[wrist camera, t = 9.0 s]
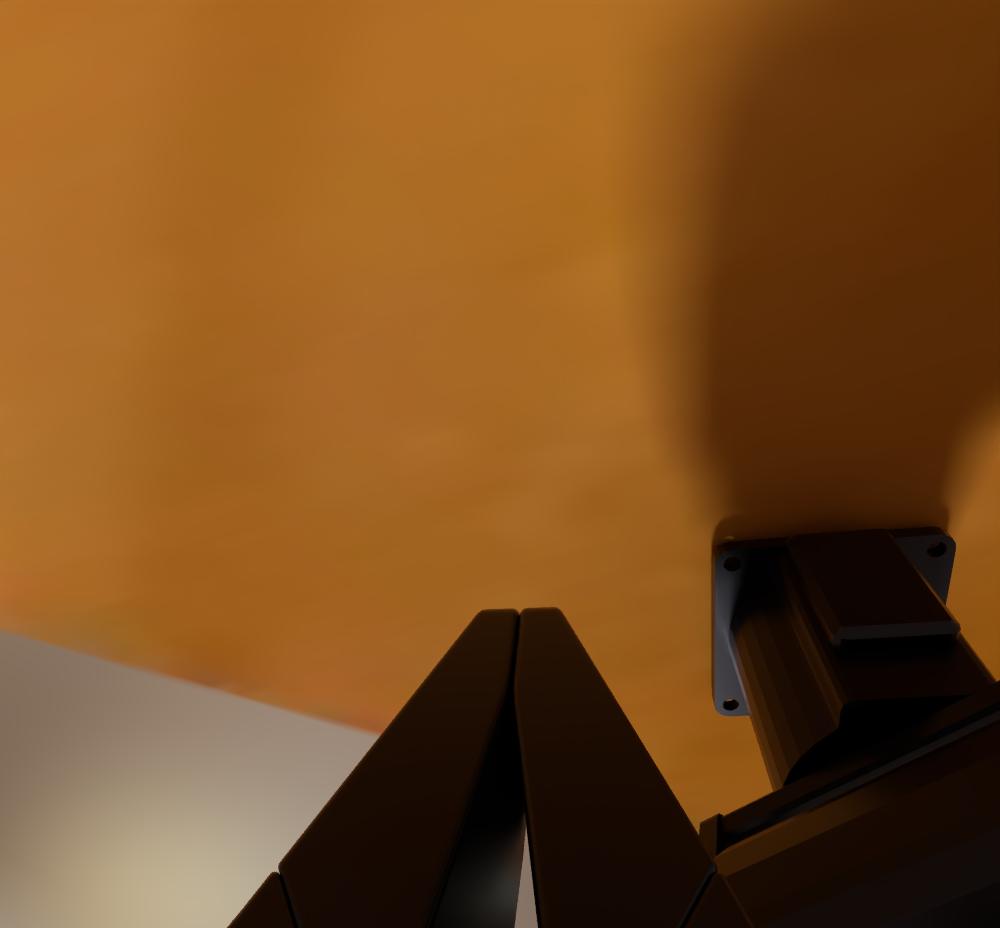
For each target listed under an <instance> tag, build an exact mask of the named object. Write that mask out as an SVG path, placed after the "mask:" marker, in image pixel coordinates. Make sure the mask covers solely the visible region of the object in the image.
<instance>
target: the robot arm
mask: <svg viewBox="0 0 1000 928" xmlns="http://www.w3.org/2000/svg"><path fill="white" fill-rule="evenodd" d="M936 542H939V544H938V545H937V546H936V547H935V548H932V549H928V547H929V546H930V545H931V544H933V543H936ZM955 551H956V543H955V541H954V540H953V539H952V537H951V536H950V535H949V534H948V533H947V532H946V531H945V530H944V529H942V528H940V527H923V528H910V529H896V530H884V529H872V530H858V531H845V532H831V533H818V534H805V535H795V536H793V537H788V538H775V539H761V540H748V541H734V542H727V543H723V544H721V545H720V546H718V547H717V548H716V549H715V550H714V552H713V556H712V697H713V701H714V705H715V708H716V710H717V711H718V712H719V713H720V714H722V715H724V716H746V715H750V718H751V721H752V725H753V728H754V731H755V734H756V737H757V741H758V744H759V747H760V750H761V753H762V757H763V760H764V763H765V766H766V770H767V773H768V776H769V779H770V782H771V786H772V789H773V792H771V793H769V794H767V795H765V796H763V797H761V798H759V799H757V800H755V801H753V802H751V803H749V804H747V805H745V806H743V807H741V808H739V809H737V810H735V811H733V812H731V813H729V814H727V815H724V816H723V815H721V814H717V815H715V816H713V817H711V818H709V819H707V820H705V821H703V822H701V823H700V830H699V835H698V833H697V831H696V830H695V828H694V826H693V825H692V823H691V822H690V820H689V818H688V817H687V815H686V813H685V812H684V810H683V808H682V807H681V805H680V804H679V802H678V800H677V799H676V797H675V795H674V794H673V792H672V790H671V789H670V787H669V786H668V784H667V782H666V781H665V779H664V777H663V776H662V774H661V773H660V771H659V769H658V768H657V766H656V764H655V763H654V761H653V759H652V758H651V756H650V755H649V753H648V751H647V750H646V748H645V746H644V745H643V743H642V741H641V740H640V738H639V737H638V735H637V733H636V732H635V730H634V728H633V727H632V725H631V724H630V722H629V720H628V719H627V717H626V715H625V714H624V712H623V710H622V709H621V707H620V706H619V704H618V702H617V701H616V699H615V697H614V696H613V694H612V692H611V691H610V689H609V688H608V686H607V684H606V683H605V681H604V679H603V678H602V676H601V674H600V673H599V671H598V670H597V668H596V666H595V665H594V663H593V661H592V660H591V658H590V657H589V655H588V653H587V652H586V650H585V648H584V647H583V645H582V643H581V642H580V640H579V639H578V637H577V635H576V634H575V632H574V630H573V629H572V627H571V625H570V624H569V622H568V621H567V619H566V617H565V616H564V614H563V613H562V611H561V610H560V609H558V608H556V607H542V608H525V609H523V610H522V611H521V613H520V614H519V612H518V611H517V610H516V609H486V610H482V611H480V612H479V613H478V614H477V615H476V616H475V617H474V618H473V620H472V621H471V622H470V624H469V625H468V626H467V627H466V629H465V630H464V631H463V632H462V634H461V635H460V636H459V637H458V639H457V640H456V641H455V642H454V644H453V645H452V646H451V647H450V649H449V650H448V651H447V653H446V654H445V655H444V656H443V658H442V659H441V660H440V661H439V663H438V664H437V665H436V666H435V668H434V669H433V670H432V671H431V673H430V674H429V675H428V676H427V678H426V679H425V680H424V681H423V683H422V684H421V685H420V687H419V688H418V689H417V690H416V692H415V693H414V694H413V695H412V697H411V698H410V699H409V700H408V702H407V703H406V704H405V705H404V707H403V708H402V709H401V710H400V712H399V713H398V714H397V716H396V717H395V718H394V719H393V721H392V722H391V723H390V724H389V726H388V727H387V728H386V729H385V731H384V732H383V733H382V734H381V736H380V737H379V738H378V739H377V741H376V742H375V743H374V745H373V746H372V747H371V748H370V750H369V751H368V752H367V753H366V755H365V756H364V757H363V759H362V760H361V761H360V762H359V763H358V765H357V766H356V767H355V769H354V770H353V771H352V772H351V774H350V775H349V776H348V777H347V779H346V780H345V781H344V782H343V784H342V785H341V786H340V787H339V789H338V790H337V791H336V792H335V794H334V795H333V796H332V797H331V799H330V800H329V801H328V802H327V804H326V805H325V806H324V808H323V809H322V810H321V811H320V813H319V814H318V815H317V816H316V818H315V819H314V820H313V821H312V823H311V824H310V825H309V826H308V828H307V829H306V830H305V831H304V833H303V834H302V835H301V837H300V838H299V839H298V840H297V842H296V843H295V844H294V845H293V847H292V848H291V849H290V850H289V852H288V853H287V854H286V855H285V857H284V858H283V859H282V861H281V862H280V863H279V866H278V869H279V873H280V874H279V873H278V872H272V873H271V874H270V875H269V876H268V877H267V879H266V880H265V881H264V883H263V884H262V885H261V887H260V888H259V889H258V890H257V891H256V893H255V894H254V895H253V896H252V898H251V899H250V900H249V901H248V903H247V904H246V905H245V907H244V908H243V909H242V910H241V912H240V913H239V914H238V915H237V916H236V918H235V919H234V920H233V921H232V922H231V924H230V925H229V926H228V927H227V928H514V926H515V919H516V910H517V902H518V894H519V886H520V877H521V869H522V861H523V852H524V842H525V841H524V840H525V831H526V827H527V836H528V845H529V854H530V862H531V871H532V879H533V888H534V897H535V905H536V914H537V922H538V928H1000V680H999V681H996V679H995V678H994V677H993V675H992V674H991V673H990V671H989V670H988V669H987V667H986V666H985V665H984V663H983V662H982V661H981V659H980V658H979V657H978V655H977V654H976V652H975V651H974V650H973V648H972V647H971V646H970V644H969V643H968V642H967V640H966V639H965V638H964V636H963V635H962V634H961V632H960V630H961V628H960V625H959V623H958V622H957V620H956V619H955V618H954V616H953V615H952V614H951V612H950V611H949V610H948V608H947V607H946V601H947V595H948V590H949V584H950V579H951V573H952V568H953V562H954V557H955ZM730 557H738V559H737V560H736V561H735V562H733V563H725V562H724V561H725V560H726V559H728V558H730ZM728 699H733V700H732V701H726V700H728Z"/></svg>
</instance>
